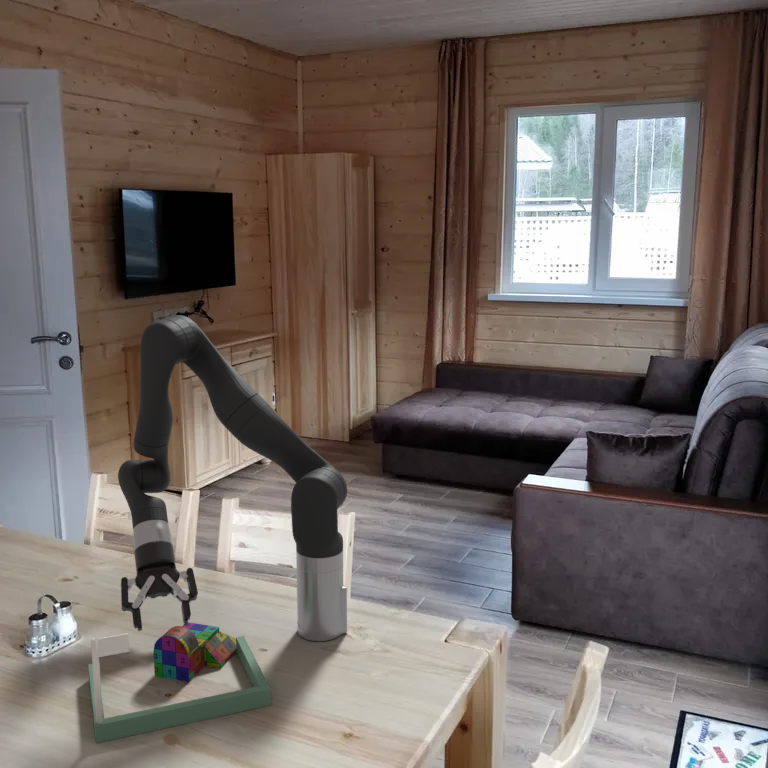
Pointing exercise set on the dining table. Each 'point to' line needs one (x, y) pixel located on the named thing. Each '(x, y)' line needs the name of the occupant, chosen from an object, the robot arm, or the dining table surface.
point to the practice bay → (174, 712)
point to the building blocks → (191, 651)
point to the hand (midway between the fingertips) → (163, 625)
